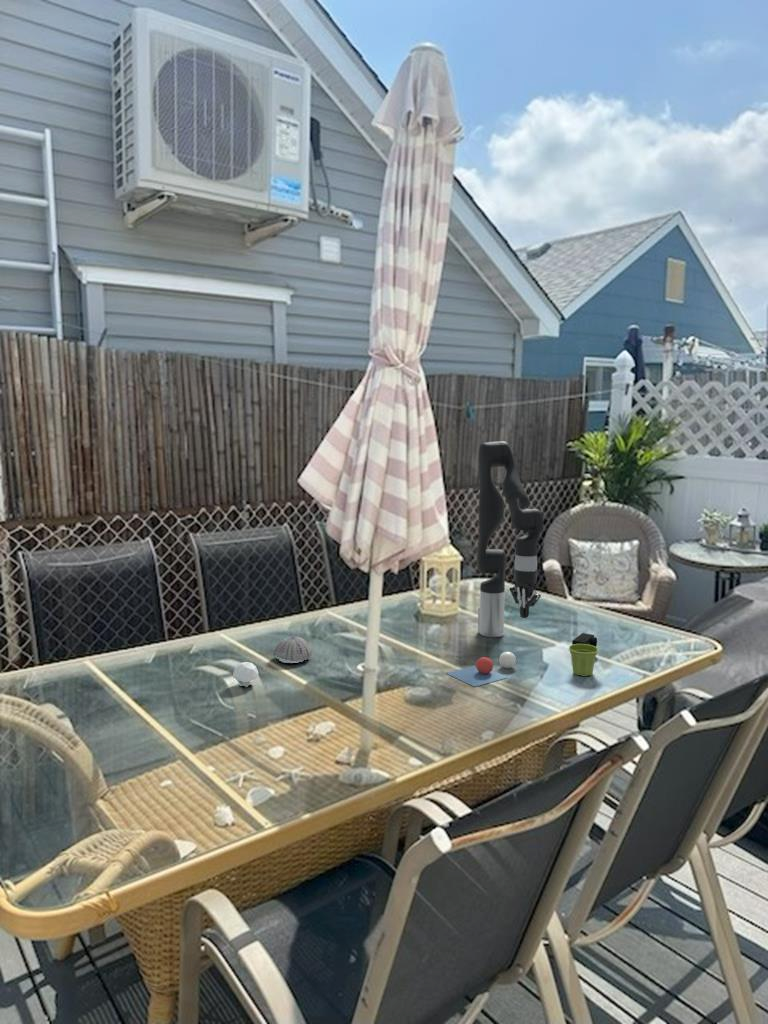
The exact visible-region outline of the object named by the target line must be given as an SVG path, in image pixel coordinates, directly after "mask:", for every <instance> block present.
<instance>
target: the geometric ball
mask: <svg viewBox="0 0 768 1024" xmlns="http://www.w3.org/2000/svg"><path fill="white" fill-rule="evenodd" d="M232 677H233V679H234V678H235V679H236V680H239V681H242V682H248V681H251V680H254V679H256V678H257V677H259V671H258V669H257V666H256V665H255V664H254V663H252V662H248V661H243V662H241V663H238V664H237V665H236V666H235V668H234V669H233V674H232ZM257 679H258V678H257Z"/></svg>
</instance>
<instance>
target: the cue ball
mask: <svg viewBox="0 0 768 1024" xmlns="http://www.w3.org/2000/svg"><path fill="white" fill-rule="evenodd" d="M498 661H499V664H500V665H501V666H502V667H503V668H505V669H511V668H513V667H514V666H516V663H517V659H516V656H515V654H514V653H513V652H511V651H503V652H502V653H500V655H499V659H498Z"/></svg>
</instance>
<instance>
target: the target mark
mask: <svg viewBox="0 0 768 1024" xmlns="http://www.w3.org/2000/svg"><path fill="white" fill-rule="evenodd" d="M446 674H447V675H448V676H450V677H453V678H455V679H457V680H458V681H461V682H463V683H466V684H467V685H469V684H470V685H469V686H471V685H472V686H471V687H473V686H474V687H473V688H476V686H477V687H480V685H481V686H484V685H488V684H490V682H491V683H494V682H498V680H499V681H502V680H506V679H508V676H505V675H503V674H501V673H498V672H497V671H494V670H492V671H491V672H490V673H488V674H482V673H480V672H479V671H478V670H477V668H476V665H473V666H469V667H465V668H460V669H457V670H453V671H449V672H446ZM487 683H488V684H487ZM483 684H484V685H483Z"/></svg>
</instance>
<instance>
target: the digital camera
mask: <svg viewBox="0 0 768 1024" xmlns="http://www.w3.org/2000/svg"><path fill="white" fill-rule="evenodd" d="M573 644H587V645H592V646H595V647H597V645H598V639H597V637H596V636H595V634H592V633H585V632H583V633H581V634H579V635H578V636H577V637H575V638H574V639H573V640H572V643H571V645H573Z"/></svg>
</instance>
